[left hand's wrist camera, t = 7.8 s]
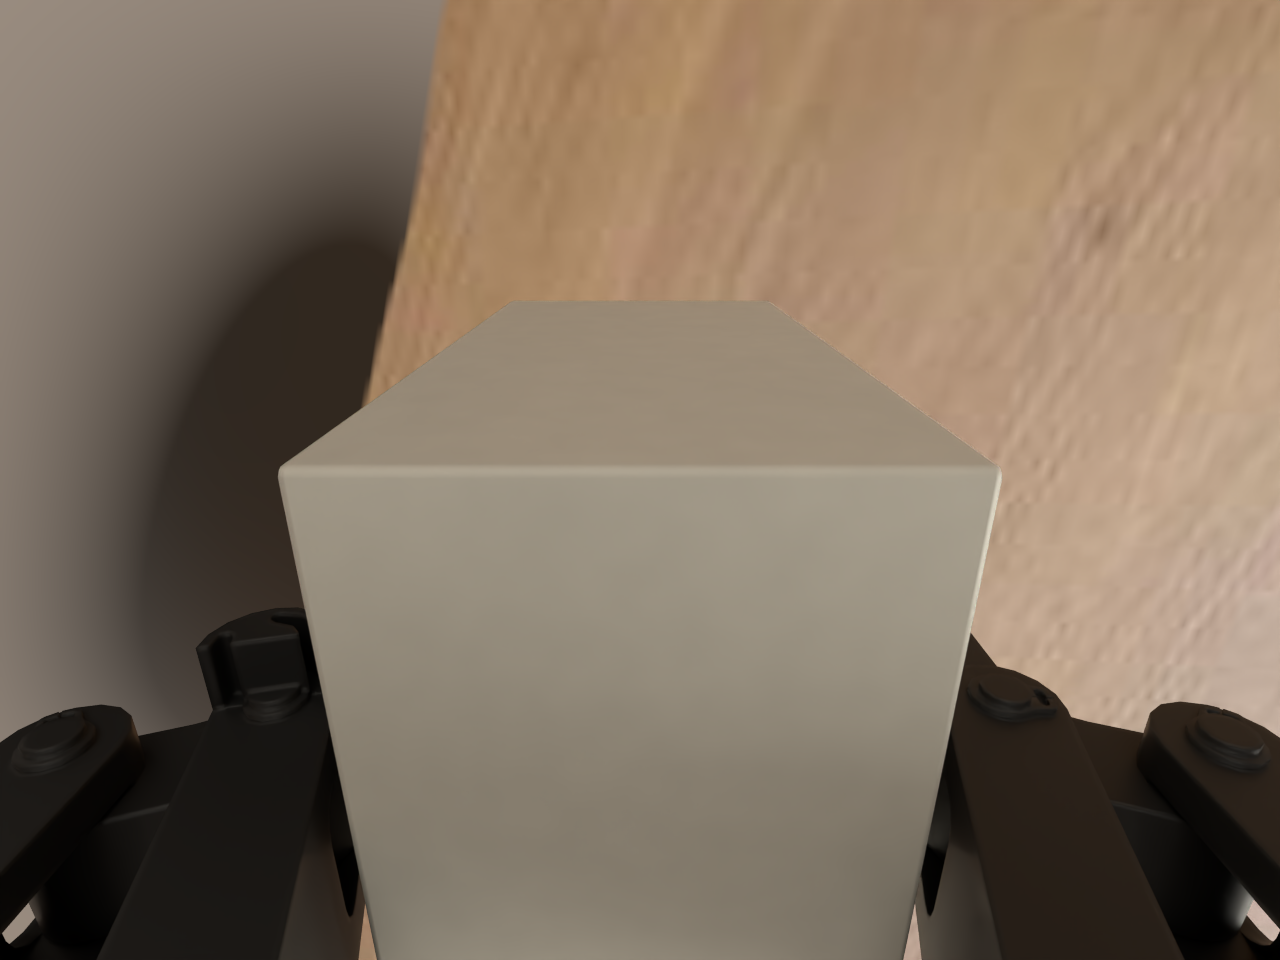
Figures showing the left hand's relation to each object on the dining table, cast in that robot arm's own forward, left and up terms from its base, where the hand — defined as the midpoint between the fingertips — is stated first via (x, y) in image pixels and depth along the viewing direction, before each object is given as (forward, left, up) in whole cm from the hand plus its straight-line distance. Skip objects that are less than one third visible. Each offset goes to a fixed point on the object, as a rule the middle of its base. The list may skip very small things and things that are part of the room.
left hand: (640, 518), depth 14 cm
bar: (+8, +4, -1) cm, 9 cm away
